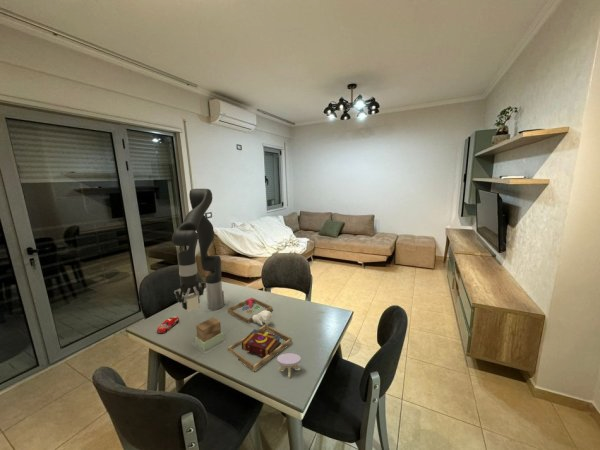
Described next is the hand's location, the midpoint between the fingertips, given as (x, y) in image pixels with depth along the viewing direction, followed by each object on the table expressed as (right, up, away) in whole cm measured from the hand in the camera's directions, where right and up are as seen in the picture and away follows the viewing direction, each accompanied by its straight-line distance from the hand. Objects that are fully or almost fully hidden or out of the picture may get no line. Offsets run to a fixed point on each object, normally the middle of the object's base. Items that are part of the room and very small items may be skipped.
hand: (191, 306), depth 116 cm
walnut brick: (+8, -14, +2) cm, 16 cm away
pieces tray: (+21, -14, +32) cm, 41 cm away
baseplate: (+8, -19, +3) cm, 21 cm away
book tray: (+33, -20, 0) cm, 38 cm away
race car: (-20, -17, +17) cm, 32 cm away
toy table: (+47, -22, -14) cm, 54 cm away
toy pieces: (+21, -14, +37) cm, 44 cm away
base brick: (+8, -18, +2) cm, 20 cm away
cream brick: (0, -1, 0) cm, 1 cm away
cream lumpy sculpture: (+30, -17, +19) cm, 39 cm away
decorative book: (+33, -20, 0) cm, 38 cm away
